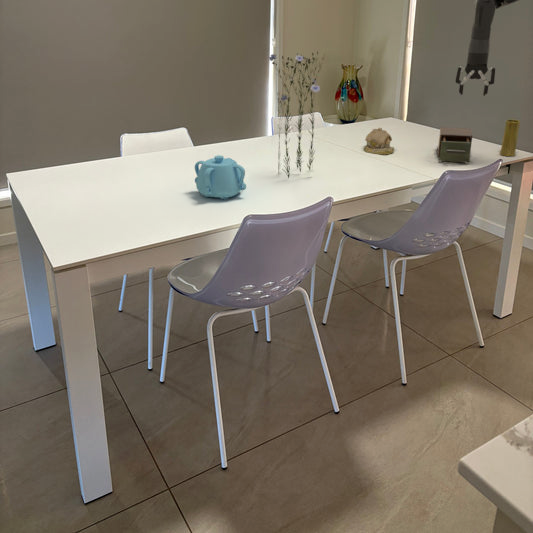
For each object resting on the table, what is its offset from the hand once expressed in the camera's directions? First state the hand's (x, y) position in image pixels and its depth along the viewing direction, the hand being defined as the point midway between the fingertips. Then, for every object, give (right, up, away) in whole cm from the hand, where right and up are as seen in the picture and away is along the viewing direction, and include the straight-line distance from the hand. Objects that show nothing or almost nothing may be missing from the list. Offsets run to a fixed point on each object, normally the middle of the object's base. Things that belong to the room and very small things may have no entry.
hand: (472, 94), depth 231 cm
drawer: (-4, -23, +10) cm, 26 cm away
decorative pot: (-97, -43, -26) cm, 109 cm away
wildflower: (-70, -33, -6) cm, 78 cm away
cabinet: (-1, -19, +20) cm, 28 cm away
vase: (+21, -20, +18) cm, 34 cm away
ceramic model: (-32, -17, +26) cm, 45 cm away
